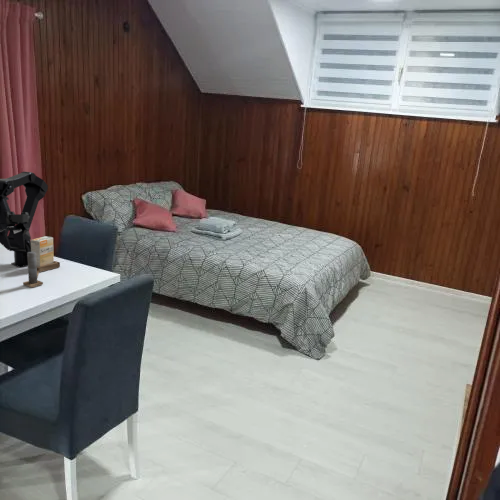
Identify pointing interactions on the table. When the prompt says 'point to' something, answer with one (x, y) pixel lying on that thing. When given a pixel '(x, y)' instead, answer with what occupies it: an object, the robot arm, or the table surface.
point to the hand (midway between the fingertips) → (16, 249)
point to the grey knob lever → (37, 270)
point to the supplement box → (43, 250)
